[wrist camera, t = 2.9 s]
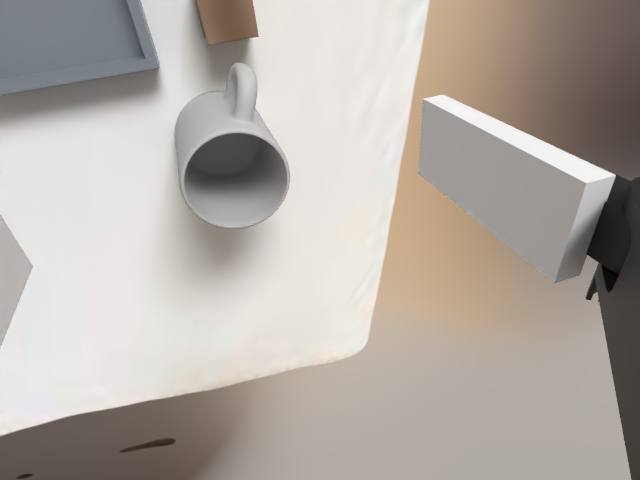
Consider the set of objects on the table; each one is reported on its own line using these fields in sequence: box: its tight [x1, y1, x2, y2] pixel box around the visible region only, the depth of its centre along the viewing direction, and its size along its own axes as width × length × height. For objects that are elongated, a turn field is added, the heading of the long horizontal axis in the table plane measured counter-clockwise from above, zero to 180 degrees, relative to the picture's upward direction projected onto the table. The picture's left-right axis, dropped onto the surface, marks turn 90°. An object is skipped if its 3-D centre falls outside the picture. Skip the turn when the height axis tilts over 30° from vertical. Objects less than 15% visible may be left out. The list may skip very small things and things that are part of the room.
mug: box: [175, 63, 290, 229], centre depth 35 cm, size 12×8×11 cm
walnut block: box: [196, 0, 259, 45], centre depth 33 cm, size 4×4×4 cm
